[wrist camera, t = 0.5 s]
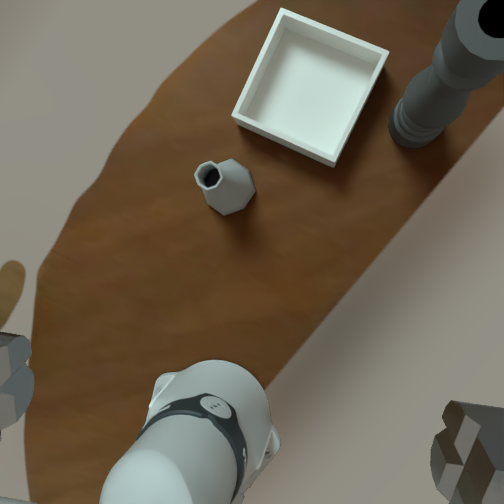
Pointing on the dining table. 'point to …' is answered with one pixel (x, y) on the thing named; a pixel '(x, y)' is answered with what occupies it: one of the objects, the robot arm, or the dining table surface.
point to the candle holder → (451, 73)
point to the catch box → (309, 87)
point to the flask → (225, 185)
